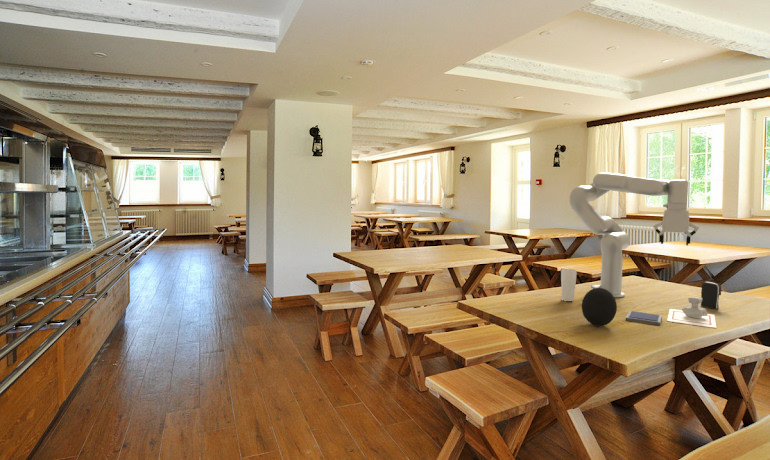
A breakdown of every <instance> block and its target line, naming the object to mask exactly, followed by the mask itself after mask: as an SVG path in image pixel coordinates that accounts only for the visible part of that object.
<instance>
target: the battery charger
mask: <svg viewBox="0 0 770 460" xmlns="http://www.w3.org/2000/svg"><path fill="white" fill-rule="evenodd" d="M700 291H701V292H700V294H701V295H700V298H702V303H700V305H701V306H702V307H705V308H709V309H714V310H718V309H719V299H720V296H721V295H722V285H721V284H719V283H717V282H714V281H713V282H711V281H703V283H702V284H701V290H700Z"/></svg>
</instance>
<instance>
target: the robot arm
mask: <svg viewBox="0 0 770 460" xmlns="http://www.w3.org/2000/svg"><path fill="white" fill-rule="evenodd" d="M688 189H689V181H688V180H686V179H671V180H669V179H662V178H661V179H659V178H657V179H655V178H647V177H646V178H645V177H637V176H633V175H631V174H630V175H629V174H621V173H613V172H612V173H611V172H604V171H603V172H598V173H596V174H595V175H594V177H593V178H592V183H591V184H588V185H578V186H576V187H574V188H573V189H572V190H571V192H570V195H569V205H570V207H571V209H572V210H573V212H574V213H575V214H576V215H577V216H578V217H579V218H580V220H581V221H582V222H583V224H584V225H585V226H586V227H587V228H588V229H589V230H590V232H591V233H592V234H594V235H595V236H598V235H599V236H602V238H601V240H600V249H601V252H600V253H601V267H600V268H601V270H600V284H598V285H596V284H591V286H590V288H591V289H594V288H603V289H606V290H608V291H609V292H610V293H611V294H612V295H613V296H614V298H624V297H625V293H624V292H622V282H623V281H622V280H623V263H624V259H623V251H624V250H626V249H627V248H628V247H629V246H630V244H631V238H630V236H629V235H628V233H627V232H626V231H625V230H624V229H623V228H622V226H620V225H619V223H618V222H616V220H615V219H613V218H612V217H610V216H608V215H602V214H601V213H599V212H598V210H596V208H595V207H594V206H592V205H591V204H590V203H589V202H593V201H596V200H597V199H599V198H600V197H602V196H604V195H605V194H607V193H608V192H610V191H615V192H620V193H628V194H629V193H630V194H637V195H638V194H639V195H644V196H653V197H654V196H655V197H657V196H667V198H666V199H667V201H666V203H663V206H662V207H663V208H666V209H664V211H663V214H662V215H663V217H662V221H661V222H658V223H656V224H654V225H653V228H654V231H655V232H656V233H657V234H658V235H659V243H660V245H663V244H664V234H665V233H666V232H667V233H685V234H686V241H685V245H686V246H689V245H690V244H691V237H692V236H694V235H695V234H696V233H697V232H698V230H699V229H700V228H699V227H698V226H697V225H695V224H692V223H691V222H690V212H689V210H688V209H687V208H688V207H687V206H688V196H689V195H688V193H689V190H688ZM658 227H661V228H662V230H660V229H659V228H658ZM690 228H693V230H692V231H691V232H690V231H689V230H690Z"/></svg>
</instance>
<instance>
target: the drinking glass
mask: <svg viewBox="0 0 770 460" xmlns="http://www.w3.org/2000/svg"><path fill="white" fill-rule="evenodd" d="M560 281H561V283H560V285H561V286H560V287H561V300H562V299H563V300H566V301H572V302H574V301H573V300H575V289H576V284H577V283H576V282H577V270H576V269H571V268H562V269H561V272H560ZM563 300H562V301H563ZM566 301H565V302H566Z"/></svg>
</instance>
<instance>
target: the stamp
mask: <svg viewBox="0 0 770 460" xmlns="http://www.w3.org/2000/svg"><path fill="white" fill-rule="evenodd" d="M687 301H688V303H689V304H691V305H688V306H686V307H683V308H682V309H681V310H682V311H683V312H684V314H685V315H686V316H687V317H691V318H696V319H699V318H701V317H702V316H707V314H708V312H707V309H706V307H705V308H704V307H700V306H699V305H701V303H702V298H701V297H699V296H692V295H691V296H689V297H688V299H687Z"/></svg>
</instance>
